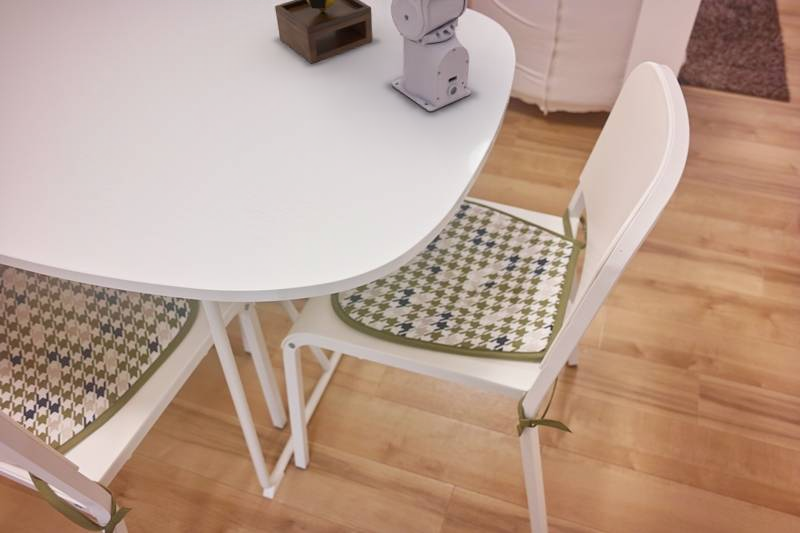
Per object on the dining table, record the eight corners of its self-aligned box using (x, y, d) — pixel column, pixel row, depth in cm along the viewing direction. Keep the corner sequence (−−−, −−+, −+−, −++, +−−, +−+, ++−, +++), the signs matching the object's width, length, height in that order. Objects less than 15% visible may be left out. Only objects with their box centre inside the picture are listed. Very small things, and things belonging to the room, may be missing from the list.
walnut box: (372, 41, 102) (371, 7, 98) (311, 63, 97) (307, 28, 93) (339, 20, 108) (337, -14, 103) (280, 40, 103) (274, 5, 98)
